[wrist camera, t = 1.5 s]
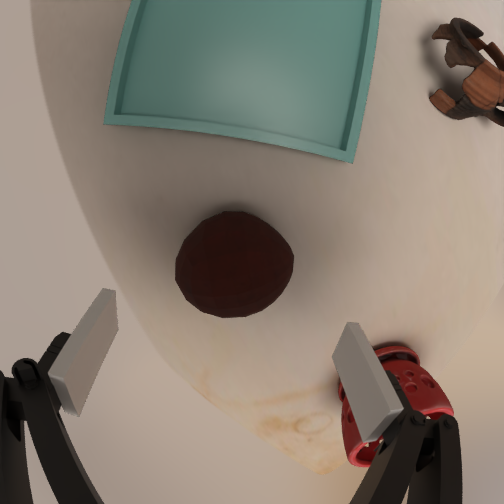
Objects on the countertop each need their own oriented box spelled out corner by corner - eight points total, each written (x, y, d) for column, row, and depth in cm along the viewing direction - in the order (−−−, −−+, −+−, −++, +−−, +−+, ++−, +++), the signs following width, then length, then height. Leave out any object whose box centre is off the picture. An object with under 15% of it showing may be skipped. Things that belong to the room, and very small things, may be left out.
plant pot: (386, 319, 30) (434, 396, 19) (428, 357, 34) (466, 417, 23) (306, 385, 34) (325, 466, 23) (361, 410, 38) (384, 473, 27)
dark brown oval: (290, 275, 27) (308, 327, 20) (194, 292, 27) (182, 347, 20) (278, 190, 24) (296, 219, 17) (170, 212, 24) (144, 248, 17)
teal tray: (165, -59, 13) (161, -69, 11) (374, -22, 15) (383, -30, 13) (113, 124, 20) (103, 124, 19) (344, 160, 23) (352, 163, 21)
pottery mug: (400, 89, 21) (444, 33, 12) (414, 44, 22) (446, -1, 14) (491, 163, 20) (545, 133, 12) (492, 107, 22) (532, 76, 13)
